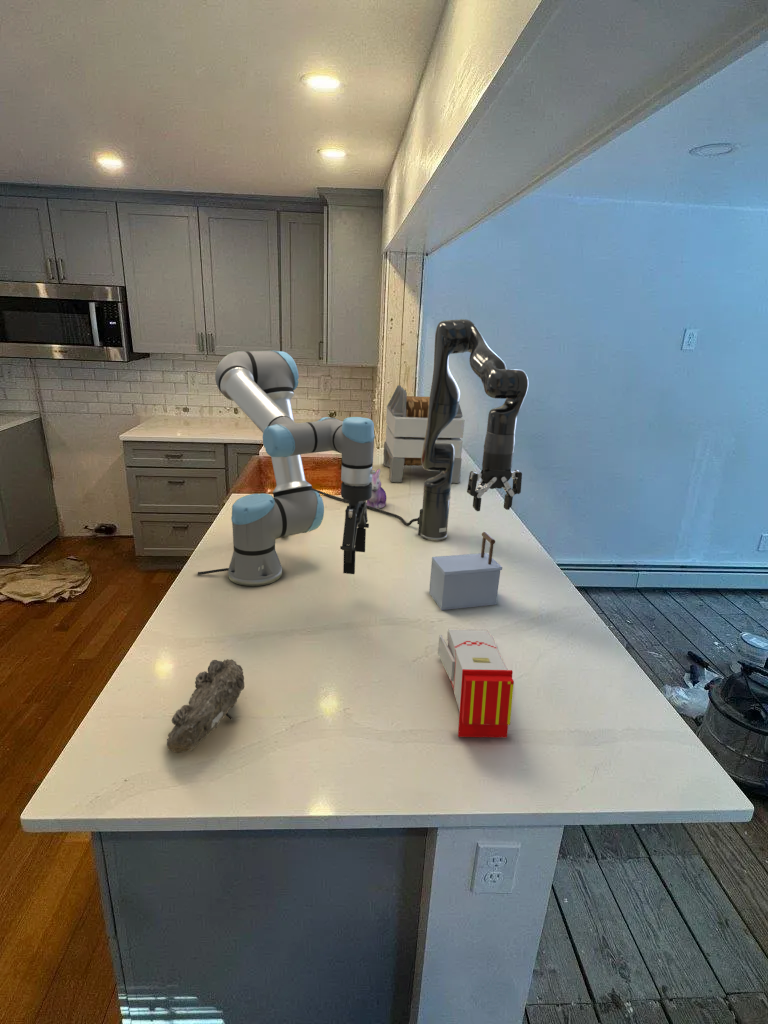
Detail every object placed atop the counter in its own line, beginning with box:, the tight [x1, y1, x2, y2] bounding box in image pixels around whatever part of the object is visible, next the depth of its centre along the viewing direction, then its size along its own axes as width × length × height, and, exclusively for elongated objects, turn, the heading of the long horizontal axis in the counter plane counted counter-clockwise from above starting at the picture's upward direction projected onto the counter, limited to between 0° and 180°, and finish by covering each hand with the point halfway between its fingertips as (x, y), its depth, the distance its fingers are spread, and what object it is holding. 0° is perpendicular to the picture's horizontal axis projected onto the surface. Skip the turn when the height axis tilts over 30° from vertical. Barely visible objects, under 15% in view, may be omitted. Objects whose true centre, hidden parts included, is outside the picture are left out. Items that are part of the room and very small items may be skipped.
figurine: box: [366, 468, 387, 509], centre depth 224 cm, size 9×10×15 cm
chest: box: [428, 560, 501, 611], centre depth 155 cm, size 16×10×10 cm, turn 106°
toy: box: [437, 628, 515, 738], centre depth 117 cm, size 12×13×30 cm
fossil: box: [166, 658, 245, 754], centre depth 106 cm, size 22×10×15 cm
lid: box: [431, 531, 503, 575], centre depth 152 cm, size 16×10×8 cm, turn 106°
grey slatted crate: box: [383, 384, 465, 484], centre depth 268 cm, size 34×33×41 cm
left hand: (354, 561), depth 145 cm, fingers open, 13 cm apart
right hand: (491, 509), depth 150 cm, fingers open, 8 cm apart
